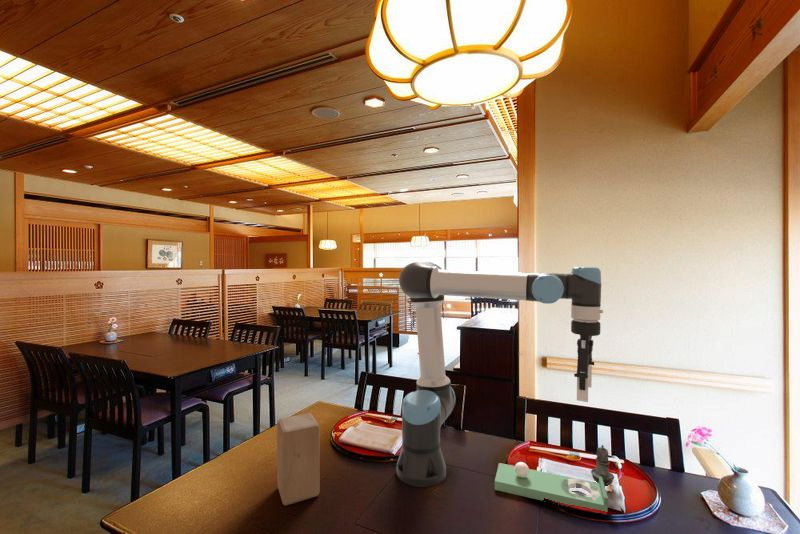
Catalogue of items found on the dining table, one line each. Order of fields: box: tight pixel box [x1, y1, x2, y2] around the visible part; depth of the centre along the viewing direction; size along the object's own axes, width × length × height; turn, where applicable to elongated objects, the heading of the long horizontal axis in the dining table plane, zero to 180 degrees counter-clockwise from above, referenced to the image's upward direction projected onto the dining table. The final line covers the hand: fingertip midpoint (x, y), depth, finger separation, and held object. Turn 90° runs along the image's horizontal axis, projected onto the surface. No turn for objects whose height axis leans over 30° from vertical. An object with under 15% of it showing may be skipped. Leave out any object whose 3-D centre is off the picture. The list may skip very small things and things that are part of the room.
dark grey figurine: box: [590, 444, 615, 486], centre depth 103 cm, size 6×6×12 cm
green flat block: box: [494, 462, 609, 513], centre depth 101 cm, size 28×10×4 cm, turn 68°
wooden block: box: [276, 412, 321, 506], centre depth 101 cm, size 10×10×20 cm
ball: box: [514, 461, 530, 478], centre depth 104 cm, size 4×4×4 cm
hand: (584, 393), depth 104 cm, fingers open, 13 cm apart
